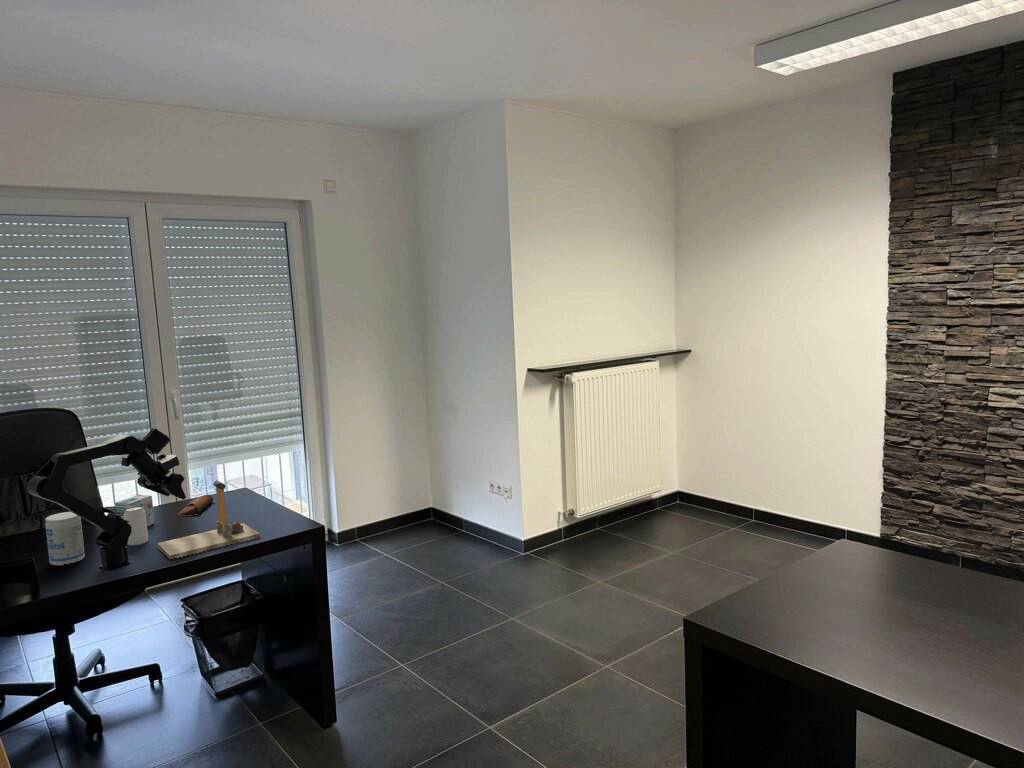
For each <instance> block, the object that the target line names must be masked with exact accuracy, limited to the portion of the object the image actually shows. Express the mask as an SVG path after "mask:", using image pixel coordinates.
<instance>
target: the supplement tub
mask: <svg viewBox="0 0 1024 768" xmlns="http://www.w3.org/2000/svg"><path fill="white" fill-rule="evenodd" d="M45 535H46V544H47V552H48V560H49V564H50V565H53V566H65V565H64V564H67V565H71V564H70V563H72V564H75V563H77V561H78V562H80V561H81V560H83V559H84V558H85V555H86V553H85V545H84V536H83V525H82V518H81V517H79V516H77V515H76V514H74V513H72V512H71V511H66V512H59V513H55V514H51V515H48V516H47V517H46V518H45ZM74 562H75V563H74Z"/></svg>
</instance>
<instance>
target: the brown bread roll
mask: <svg viewBox="0 0 1024 768" xmlns="http://www.w3.org/2000/svg"><path fill="white" fill-rule="evenodd" d="M213 501H214V498H213V496H212V495H210V494H204V495H202V496H199V497H196V498H195V499H193V500H192V501H190V502H189V503H188V504H186V507H184V508H183V509H182V510H181V511H180V512H179V513H178V514H177V515H195V514H198V515H200V514H201V513H202V512H203V510H204V509H206V507H208V506H209V505H210V504H211V503H213Z"/></svg>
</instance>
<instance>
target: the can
mask: <svg viewBox="0 0 1024 768" xmlns="http://www.w3.org/2000/svg"><path fill="white" fill-rule="evenodd" d="M124 520H127V521H129V522H128V524H130V525H131V527H132V528H131V529H132V532H131V535H130V536H129V539H128V543H127V546H129V547H134V546H135V547H136V546H141V545H144V544H146V543H147V542H148V541H149V532H148V531H149V530H148V527H147V522H146V513H145V510H144V509H143V506H133V507H128V508H126V509H125V512H124Z"/></svg>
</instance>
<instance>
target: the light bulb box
mask: <svg viewBox="0 0 1024 768" xmlns="http://www.w3.org/2000/svg"><path fill="white" fill-rule="evenodd" d="M114 506H115V514H116V515H119V516H120V517H122V518H123V519H124V512H125V509H126V508H128V507H133V506H143V509H144V510H145V513H146V522H147V526H148V527H149V526H153V525H155V524H154V523H155V513H154V504H153V496H152V495H150V494H149V495H147V494H136V495H133V496H130V497H127V498H124V499H122V500H119V501H116V502H114ZM152 524H153V525H152Z"/></svg>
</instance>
